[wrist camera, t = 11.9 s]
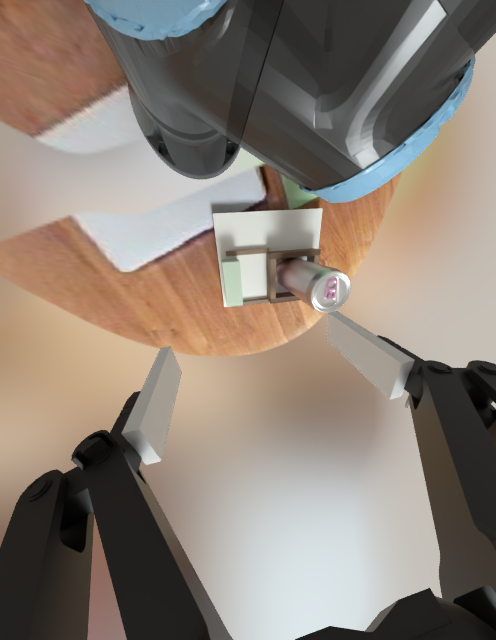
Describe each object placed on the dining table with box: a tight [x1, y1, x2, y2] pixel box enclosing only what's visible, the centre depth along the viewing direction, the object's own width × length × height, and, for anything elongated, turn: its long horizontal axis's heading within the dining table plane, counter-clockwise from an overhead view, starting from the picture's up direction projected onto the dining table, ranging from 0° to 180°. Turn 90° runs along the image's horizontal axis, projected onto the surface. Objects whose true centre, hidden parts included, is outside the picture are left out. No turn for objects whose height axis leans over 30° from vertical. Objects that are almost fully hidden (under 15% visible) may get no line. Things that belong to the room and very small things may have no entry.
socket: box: [266, 248, 321, 303], centre depth 36 cm, size 10×10×3 cm
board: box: [213, 208, 323, 307], centre depth 35 cm, size 17×20×2 cm
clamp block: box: [221, 259, 243, 307], centre depth 34 cm, size 8×3×4 cm, turn 4°
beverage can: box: [276, 257, 351, 312], centre depth 30 cm, size 6×6×15 cm
